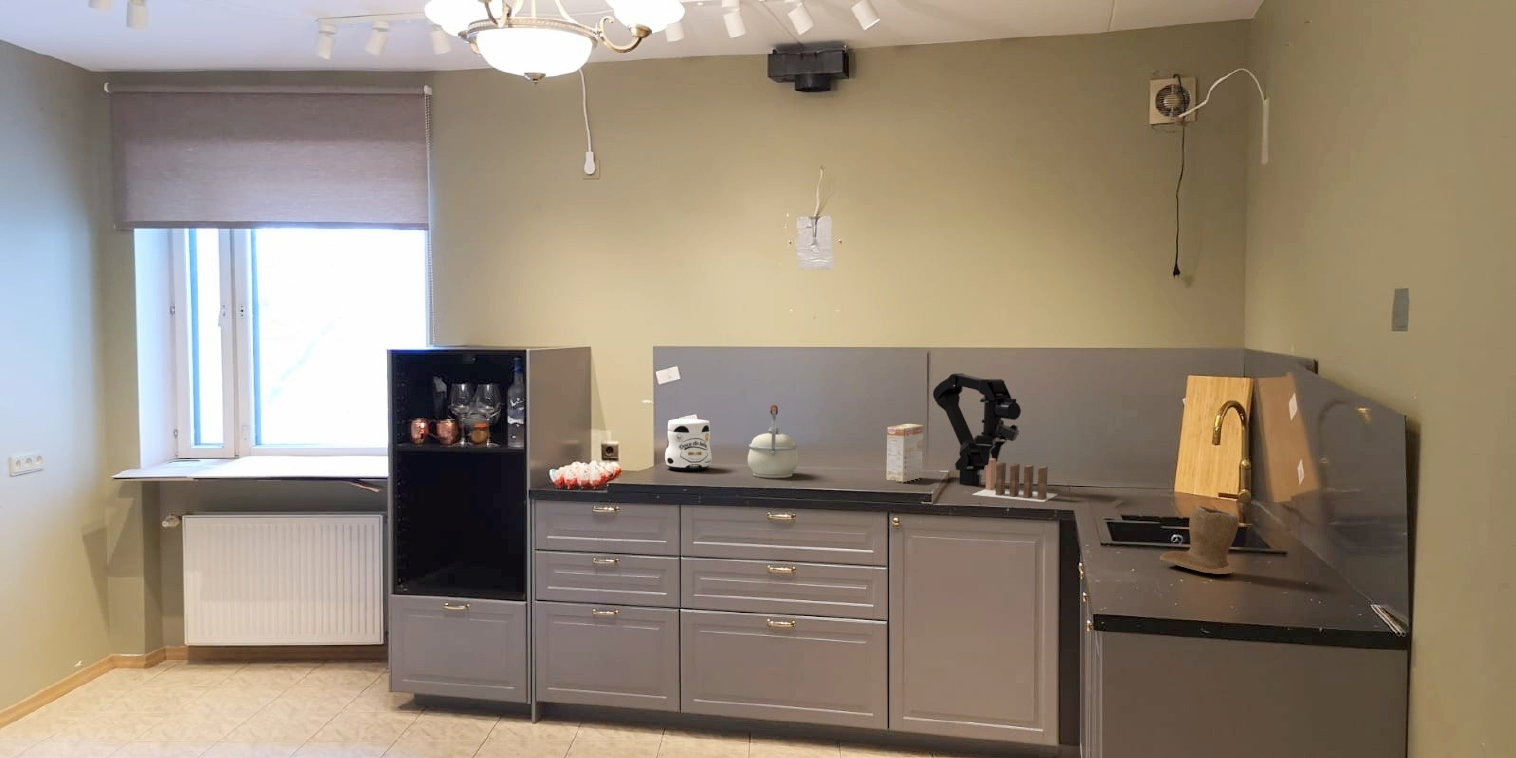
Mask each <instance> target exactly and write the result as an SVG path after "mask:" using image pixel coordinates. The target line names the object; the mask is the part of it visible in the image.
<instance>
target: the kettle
mask: <svg viewBox="0 0 1516 758" xmlns="http://www.w3.org/2000/svg"><path fill="white" fill-rule="evenodd" d="M769 410H770V412H769V413H770V414H771V426H770V427H769V429H768V432H767V433H761V434H759V435H757V436H755V437H754V438H753V439H752V440H751V443H749V444H748V447H749V450H748V455H747V464H748V467H749V468H750V470H751V471H752V472H753V473H752V475H753V476H755V477H758V478H765V479H785V478H790V477H792V476H793V472H794V471H795V470H796V469H797V467H798V465H799V454H798V451H797V449H798V447H799V446H798V445H797V444H796V441H795V440H794V439H793V438H792V437H791V436H790V435H787V434H785V433H779V431H780V429H779V428H778V427H777V425H776V424H777V423H776V422H777V415H778V413H779V411H778V410H779V409H778V406H777V405H776V404H774V405H771V406H770V409H769Z"/></svg>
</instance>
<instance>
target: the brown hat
mask: <svg viewBox="0 0 1516 758" xmlns="http://www.w3.org/2000/svg"><path fill="white" fill-rule="evenodd" d="M1188 524H1189V525H1188V526H1189V527H1188V529H1189V530H1188V531H1189V539H1190V540H1189V541H1190V542H1189V543H1190V546H1189V550H1187V551H1177V550H1173V551H1172V550H1171V551H1168V552H1165V553H1163V554H1161V555H1160V557H1159V560H1160V561H1161V560H1164V561H1168V562H1173V563H1177V564H1184V565H1190V566H1194V567H1199V568H1207V569H1218V568H1224V567H1226V566H1228V565H1229V564H1230V563H1229V562H1228V560H1227V559H1228V553H1229V551H1230V549H1231V547H1232V546H1233V545H1232V544H1233V543H1234V540H1235V538H1236V535H1237V533H1238V532H1237V531H1238V528H1239V518H1238V516H1237V515H1236V514H1234V513H1231V512H1227V511H1224V510H1219V509H1215V508H1210V507H1206V506H1201V505H1197V506H1195V507H1193V509H1192V511H1191V513H1190V516H1189V523H1188Z"/></svg>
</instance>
